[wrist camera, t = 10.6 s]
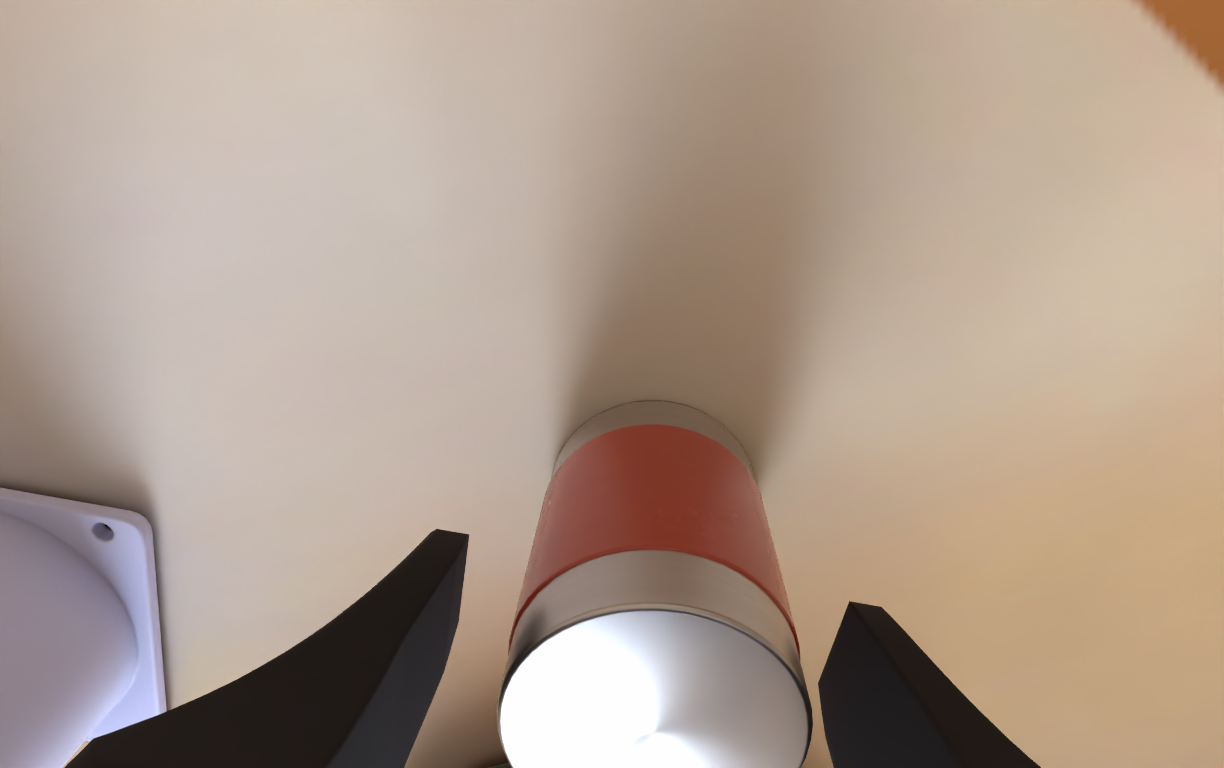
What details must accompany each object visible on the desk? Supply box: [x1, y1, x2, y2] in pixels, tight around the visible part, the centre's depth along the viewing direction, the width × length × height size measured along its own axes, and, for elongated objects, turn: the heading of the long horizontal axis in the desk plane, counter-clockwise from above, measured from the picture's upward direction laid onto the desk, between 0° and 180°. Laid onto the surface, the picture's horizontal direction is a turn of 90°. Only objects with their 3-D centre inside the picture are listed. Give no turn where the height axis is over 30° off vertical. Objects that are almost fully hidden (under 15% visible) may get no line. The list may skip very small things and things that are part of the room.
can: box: [496, 401, 813, 768], centre depth 14 cm, size 5×5×7 cm
